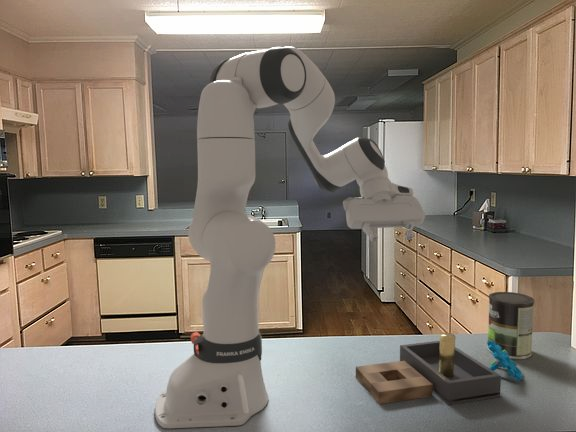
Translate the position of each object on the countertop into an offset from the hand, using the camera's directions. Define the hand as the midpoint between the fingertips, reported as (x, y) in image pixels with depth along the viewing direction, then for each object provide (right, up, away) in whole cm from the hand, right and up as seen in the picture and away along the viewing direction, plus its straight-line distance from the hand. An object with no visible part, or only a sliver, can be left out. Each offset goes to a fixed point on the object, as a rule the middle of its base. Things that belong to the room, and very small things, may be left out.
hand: (392, 238), depth 112 cm
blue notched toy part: (+23, -31, -10) cm, 39 cm away
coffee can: (+30, -29, +3) cm, 42 cm away
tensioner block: (-3, -31, -15) cm, 35 cm away
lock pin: (+9, -30, -12) cm, 33 cm away
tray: (+9, -31, -12) cm, 34 cm away
